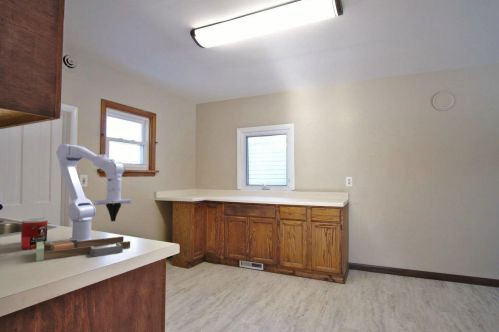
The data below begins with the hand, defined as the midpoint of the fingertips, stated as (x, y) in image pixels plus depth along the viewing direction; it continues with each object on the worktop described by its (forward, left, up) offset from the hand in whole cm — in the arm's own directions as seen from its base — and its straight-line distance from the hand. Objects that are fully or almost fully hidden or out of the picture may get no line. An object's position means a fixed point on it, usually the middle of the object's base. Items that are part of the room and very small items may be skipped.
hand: (113, 221), depth 119 cm
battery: (-21, -26, -10) cm, 35 cm away
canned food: (-10, -27, -10) cm, 30 cm away
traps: (+7, -11, -9) cm, 16 cm away
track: (+7, -10, -9) cm, 15 cm away
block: (+8, -18, -10) cm, 22 cm away
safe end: (+7, -25, -9) cm, 28 cm away
